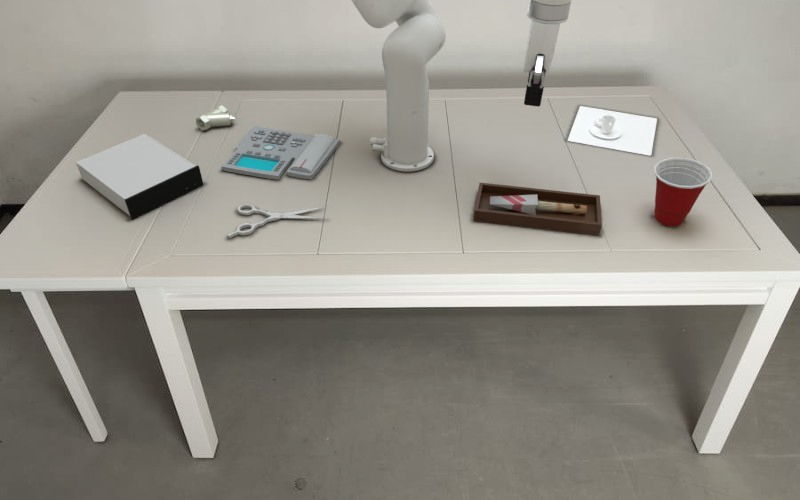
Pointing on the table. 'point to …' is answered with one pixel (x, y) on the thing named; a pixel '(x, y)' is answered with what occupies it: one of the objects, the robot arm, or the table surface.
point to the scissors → (271, 217)
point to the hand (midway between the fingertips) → (533, 94)
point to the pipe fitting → (215, 118)
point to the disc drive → (140, 175)
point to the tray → (543, 218)
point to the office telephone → (280, 153)
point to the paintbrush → (534, 204)
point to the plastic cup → (678, 188)
